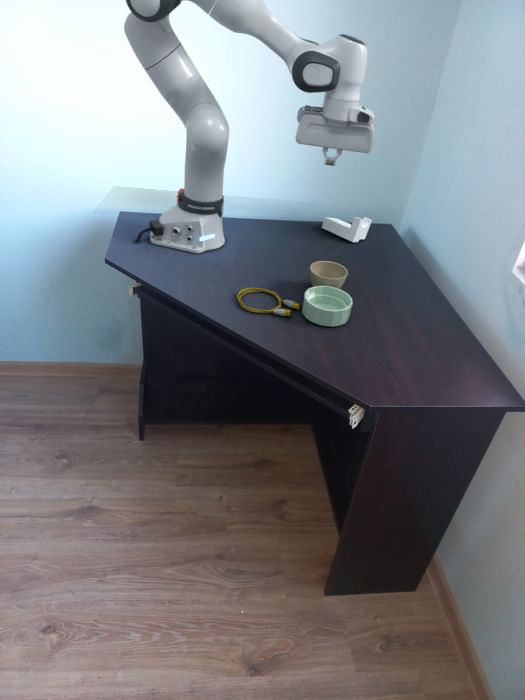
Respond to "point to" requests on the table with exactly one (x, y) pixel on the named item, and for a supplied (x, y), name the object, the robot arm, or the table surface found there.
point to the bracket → (348, 228)
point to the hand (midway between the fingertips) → (329, 164)
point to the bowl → (327, 306)
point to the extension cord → (275, 311)
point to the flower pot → (327, 274)
